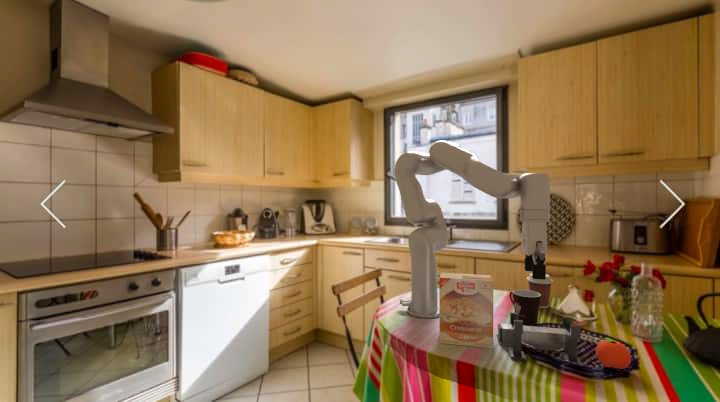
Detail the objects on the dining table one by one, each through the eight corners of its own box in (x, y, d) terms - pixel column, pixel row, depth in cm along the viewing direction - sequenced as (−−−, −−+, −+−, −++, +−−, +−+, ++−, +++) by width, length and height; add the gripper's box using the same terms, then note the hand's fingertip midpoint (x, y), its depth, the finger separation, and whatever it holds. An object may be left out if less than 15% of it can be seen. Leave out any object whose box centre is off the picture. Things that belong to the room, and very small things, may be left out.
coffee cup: (530, 308, 125) (529, 277, 125) (524, 300, 134) (523, 271, 134) (556, 310, 123) (556, 278, 123) (548, 302, 132) (548, 272, 131)
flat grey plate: (499, 345, 94) (499, 344, 94) (496, 335, 101) (496, 334, 101) (579, 353, 89) (579, 352, 89) (570, 342, 95) (570, 341, 95)
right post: (567, 366, 82) (567, 325, 82) (559, 354, 88) (559, 316, 88) (584, 368, 81) (584, 326, 81) (574, 355, 88) (574, 317, 87)
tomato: (585, 360, 85) (585, 333, 85) (610, 358, 86) (610, 332, 86) (611, 376, 77) (611, 347, 77) (638, 375, 78) (638, 345, 78)
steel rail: (499, 341, 96) (499, 328, 95) (497, 336, 99) (497, 323, 99) (575, 349, 90) (575, 335, 90) (570, 343, 94) (570, 329, 94)
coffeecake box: (439, 343, 96) (438, 277, 95) (439, 333, 103) (439, 271, 102) (494, 349, 92) (493, 280, 91) (491, 338, 99) (490, 274, 98)
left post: (511, 360, 86) (511, 320, 85) (507, 348, 92) (507, 312, 92) (526, 361, 85) (526, 321, 85) (521, 350, 91) (521, 313, 91)
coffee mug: (544, 328, 106) (544, 297, 106) (516, 326, 107) (516, 296, 107) (533, 315, 117) (533, 287, 117) (507, 314, 119) (507, 286, 119)
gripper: (514, 214, 104) (514, 267, 104) (527, 217, 87) (527, 281, 87) (541, 214, 102) (541, 269, 102) (559, 218, 85) (558, 283, 85)
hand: (534, 274), depth 95 cm, fingers open, 9 cm apart
